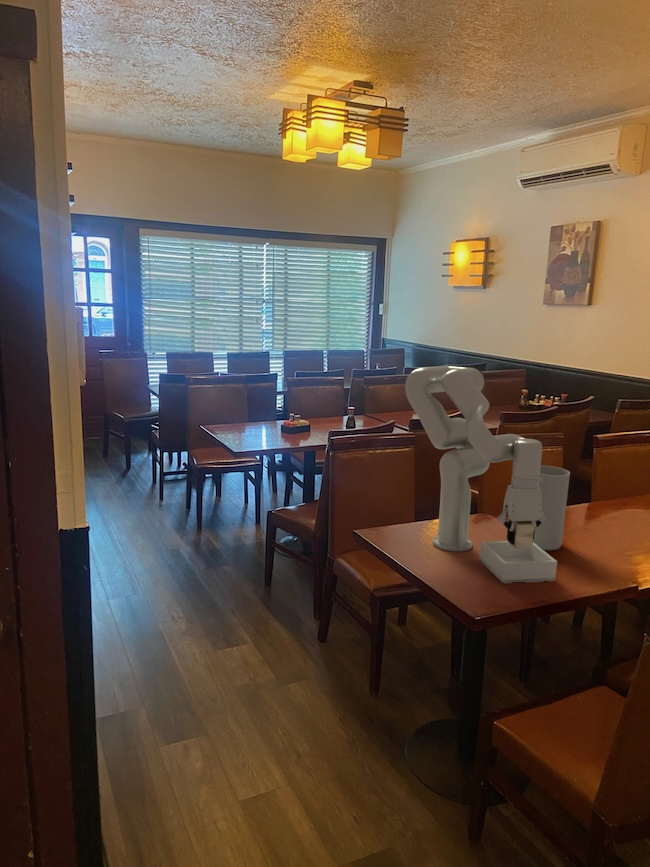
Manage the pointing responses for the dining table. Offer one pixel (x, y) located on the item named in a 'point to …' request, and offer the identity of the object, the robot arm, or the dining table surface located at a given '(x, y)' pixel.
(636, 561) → the dining table surface
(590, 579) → the dining table surface
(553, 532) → the cylinder vase
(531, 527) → the birch block
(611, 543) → the dining table surface
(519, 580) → the bin
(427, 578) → the dining table surface
